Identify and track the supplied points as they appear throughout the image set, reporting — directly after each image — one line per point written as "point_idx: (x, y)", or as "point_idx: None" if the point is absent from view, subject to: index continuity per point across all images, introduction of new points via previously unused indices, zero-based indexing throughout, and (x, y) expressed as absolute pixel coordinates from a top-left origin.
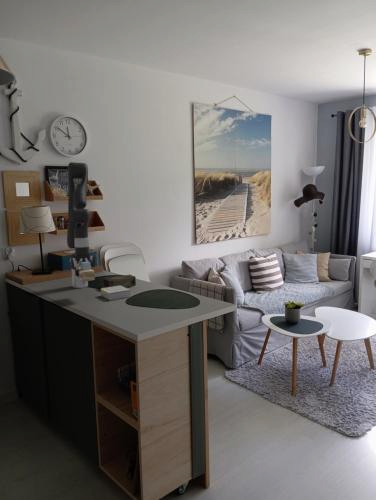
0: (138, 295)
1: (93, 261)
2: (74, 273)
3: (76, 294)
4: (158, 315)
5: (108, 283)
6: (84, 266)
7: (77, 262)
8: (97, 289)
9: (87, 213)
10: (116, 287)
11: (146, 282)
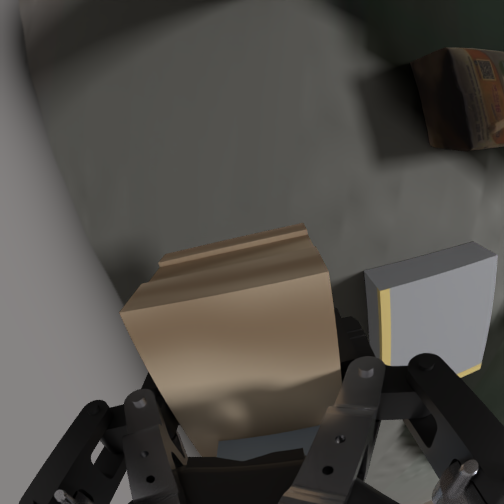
0: (492, 335)
1: (445, 464)
2: None
3: (207, 164)
4: (400, 495)
5: (461, 149)
6: None
7: (146, 476)
8: (371, 81)
9: None
10: (463, 301)
11: None
